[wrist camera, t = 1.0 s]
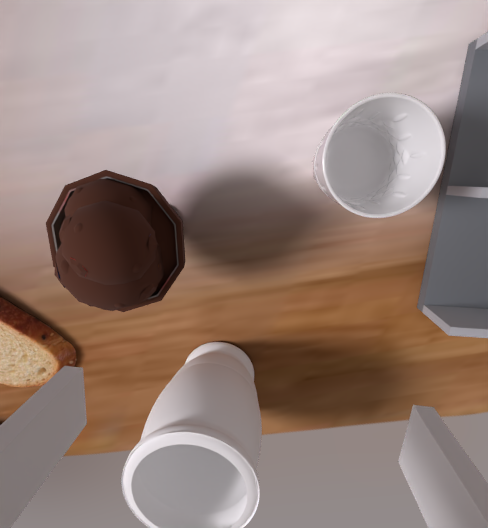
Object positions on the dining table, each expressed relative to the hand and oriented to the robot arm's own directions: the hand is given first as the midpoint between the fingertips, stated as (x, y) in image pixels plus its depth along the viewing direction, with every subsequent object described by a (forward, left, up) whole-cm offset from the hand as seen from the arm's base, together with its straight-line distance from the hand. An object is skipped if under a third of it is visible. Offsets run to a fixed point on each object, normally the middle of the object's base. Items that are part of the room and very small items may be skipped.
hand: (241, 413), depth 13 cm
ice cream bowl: (-4, -11, -22) cm, 25 cm away
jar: (+13, -4, -22) cm, 26 cm away
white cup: (-11, +8, -22) cm, 26 cm away
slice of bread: (+9, -32, -23) cm, 40 cm away
